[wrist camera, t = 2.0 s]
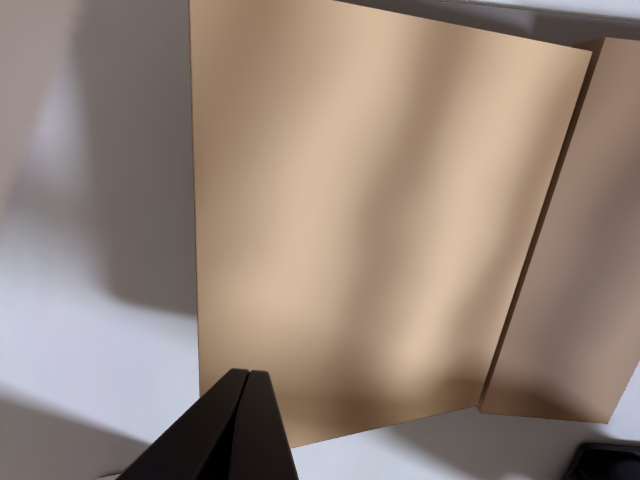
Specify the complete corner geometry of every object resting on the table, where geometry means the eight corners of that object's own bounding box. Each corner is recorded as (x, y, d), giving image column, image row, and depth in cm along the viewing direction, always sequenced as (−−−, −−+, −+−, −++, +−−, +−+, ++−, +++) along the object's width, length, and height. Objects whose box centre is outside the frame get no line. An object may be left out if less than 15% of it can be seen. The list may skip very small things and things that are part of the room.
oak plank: (550, 54, 15) (592, 51, 14) (455, 381, 21) (477, 405, 20) (187, -12, 10) (189, -28, 9) (200, 432, 17) (202, 469, 15)
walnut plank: (738, 61, 15) (792, 57, 14) (584, 397, 22) (607, 423, 20) (573, 44, 15) (605, 37, 13) (467, 386, 22) (480, 412, 20)
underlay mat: (753, 37, 15) (763, 35, 15) (582, 405, 23) (587, 410, 22) (210, -22, 15) (207, -25, 15) (214, 373, 22) (212, 378, 22)
